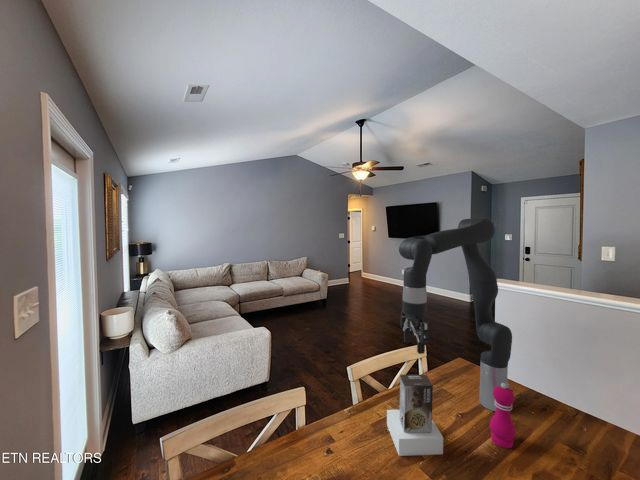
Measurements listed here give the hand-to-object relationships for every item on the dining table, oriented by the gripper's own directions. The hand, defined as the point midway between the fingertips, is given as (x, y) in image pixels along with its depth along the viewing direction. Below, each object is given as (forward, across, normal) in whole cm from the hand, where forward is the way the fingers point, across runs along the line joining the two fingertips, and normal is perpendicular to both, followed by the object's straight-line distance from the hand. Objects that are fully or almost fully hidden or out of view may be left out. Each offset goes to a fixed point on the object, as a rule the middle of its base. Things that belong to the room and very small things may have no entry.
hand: (413, 347), depth 96 cm
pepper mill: (+32, -8, -28) cm, 43 cm away
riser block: (+32, 0, 0) cm, 32 cm away
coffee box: (+26, -2, 0) cm, 26 cm away
